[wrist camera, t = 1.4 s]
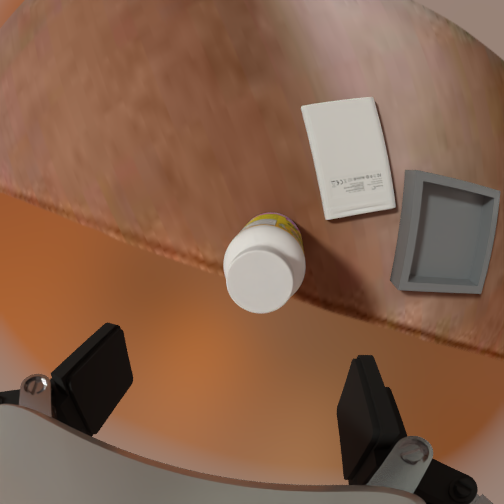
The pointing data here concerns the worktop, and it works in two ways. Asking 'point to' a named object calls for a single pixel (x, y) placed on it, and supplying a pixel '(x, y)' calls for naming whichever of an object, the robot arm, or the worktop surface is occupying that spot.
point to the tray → (444, 234)
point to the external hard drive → (349, 157)
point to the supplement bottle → (265, 263)
